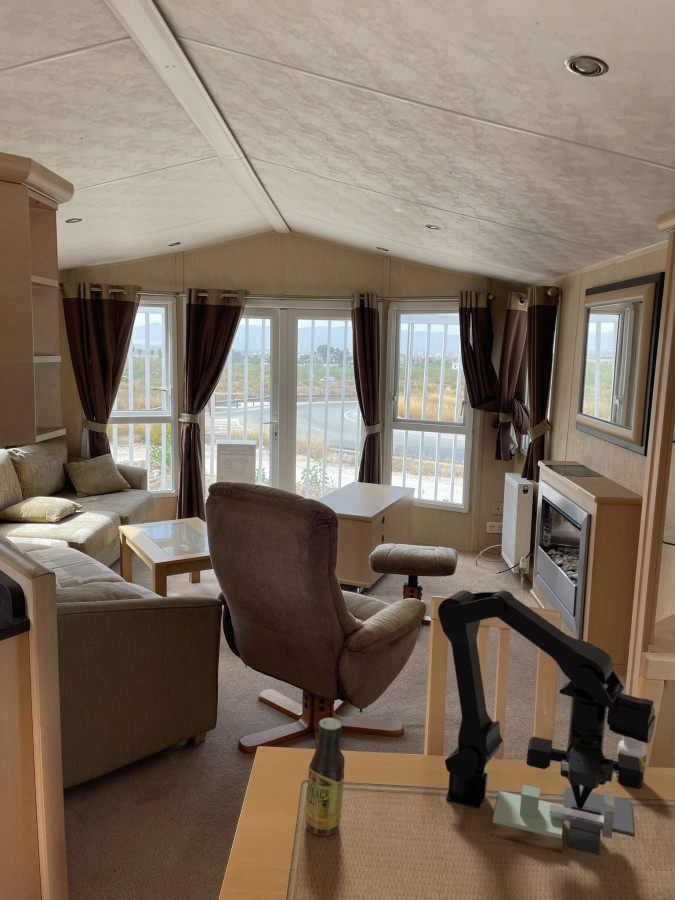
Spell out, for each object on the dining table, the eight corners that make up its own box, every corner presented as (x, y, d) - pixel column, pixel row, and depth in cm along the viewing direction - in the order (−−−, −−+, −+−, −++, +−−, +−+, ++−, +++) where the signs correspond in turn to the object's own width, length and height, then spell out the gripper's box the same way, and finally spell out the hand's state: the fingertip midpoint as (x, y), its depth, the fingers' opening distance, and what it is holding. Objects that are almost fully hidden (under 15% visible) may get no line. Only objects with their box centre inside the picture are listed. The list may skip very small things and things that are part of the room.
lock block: (567, 847, 127) (570, 819, 126) (568, 829, 132) (571, 802, 131) (598, 855, 126) (601, 826, 125) (598, 836, 130) (601, 809, 130)
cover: (492, 822, 129) (494, 797, 128) (498, 794, 137) (500, 770, 137) (561, 839, 125) (563, 813, 125) (563, 809, 134) (565, 785, 133)
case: (490, 835, 129) (491, 822, 129) (496, 806, 138) (497, 793, 137) (561, 853, 126) (562, 840, 125) (563, 821, 134) (564, 809, 134)
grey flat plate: (563, 818, 135) (563, 816, 135) (565, 788, 144) (565, 786, 144) (633, 835, 131) (633, 832, 131) (630, 802, 141) (631, 800, 141)
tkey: (548, 823, 127) (550, 798, 127) (550, 803, 133) (552, 779, 132) (611, 838, 124) (614, 812, 123) (610, 817, 130) (613, 792, 129)
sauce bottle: (297, 826, 130) (301, 721, 127) (322, 811, 134) (326, 709, 131) (324, 844, 125) (329, 736, 122) (349, 828, 130) (354, 722, 127)
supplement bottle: (645, 790, 145) (651, 743, 144) (616, 785, 146) (621, 739, 145) (640, 774, 150) (645, 729, 149) (612, 770, 151) (617, 726, 150)
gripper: (527, 734, 121) (520, 821, 123) (649, 758, 115) (640, 849, 118) (532, 704, 132) (526, 785, 134) (644, 725, 126) (636, 809, 128)
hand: (579, 806), depth 128 cm, fingers closed
